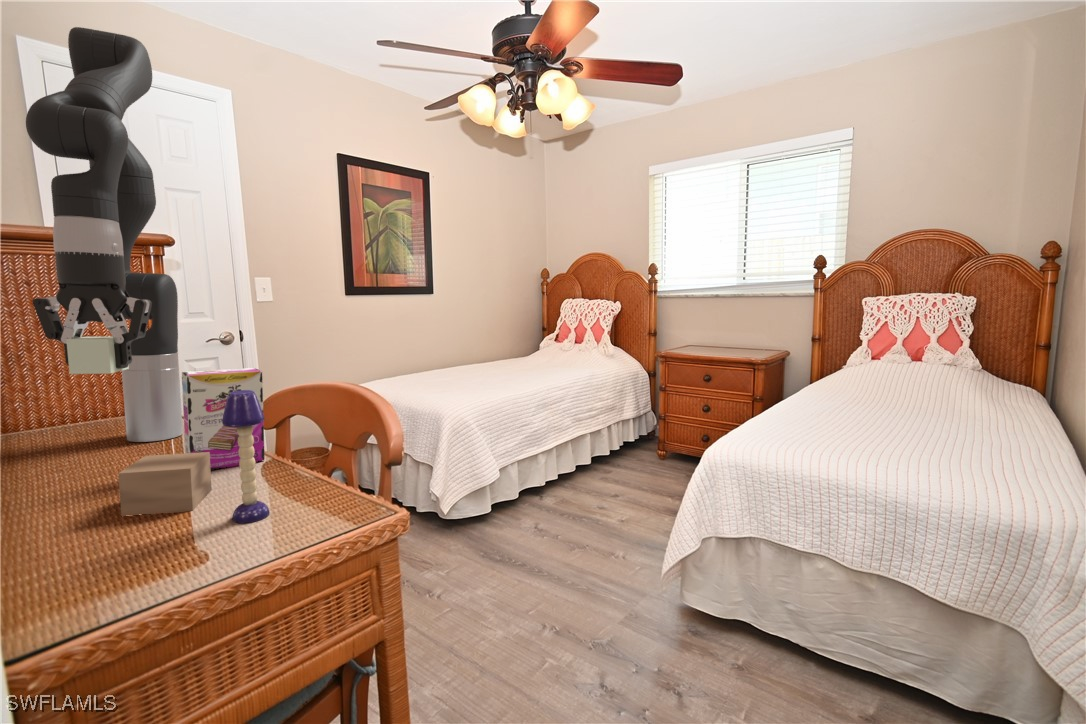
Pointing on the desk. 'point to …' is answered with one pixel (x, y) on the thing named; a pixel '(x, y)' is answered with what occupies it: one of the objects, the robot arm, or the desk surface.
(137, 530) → the desk surface
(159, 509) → the walnut block
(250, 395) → the toy lamp
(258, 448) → the candy bar box
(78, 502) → the desk surface
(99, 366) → the sage block
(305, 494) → the desk surface
